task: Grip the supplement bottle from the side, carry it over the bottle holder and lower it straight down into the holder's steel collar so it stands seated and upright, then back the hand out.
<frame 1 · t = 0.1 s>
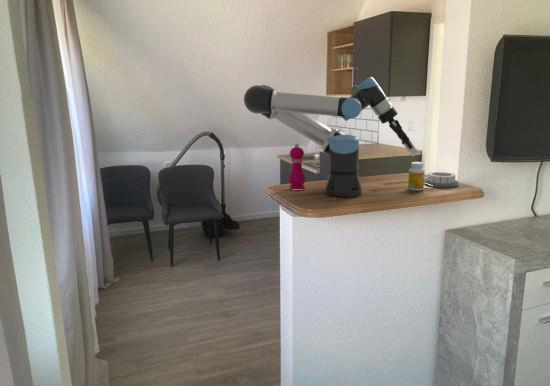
hand: (413, 152, 176), 15 cm above the countertop, tool tilted 35°, fingers open, 13 cm apart
supplement bottle: (415, 189, 177), on the countertop
bottle holder: (440, 184, 184), on the countertop
pepper mill: (297, 189, 181), on the countertop
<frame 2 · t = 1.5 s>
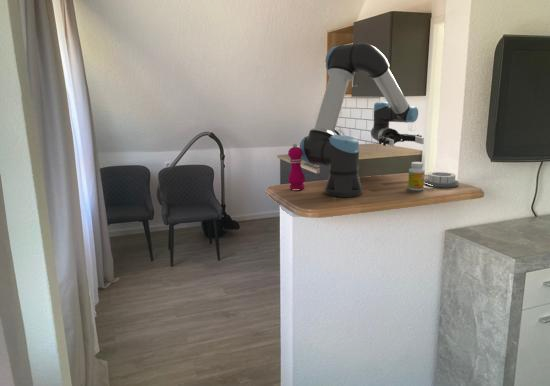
hand: (408, 142, 180), 19 cm above the countertop, tool horizontal, fingers open, 13 cm apart
pepper mill: (297, 189, 181), on the countertop, touching arm
everything else where it was.
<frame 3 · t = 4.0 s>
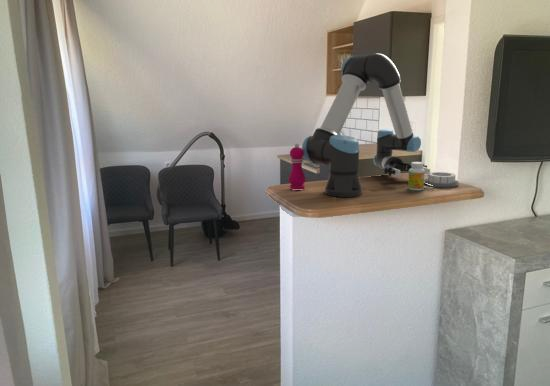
hand: (414, 172, 178), 6 cm above the countertop, tool horizontal, fingers open, 13 cm apart
pepper mill: (297, 189, 181), on the countertop
everything else where it was.
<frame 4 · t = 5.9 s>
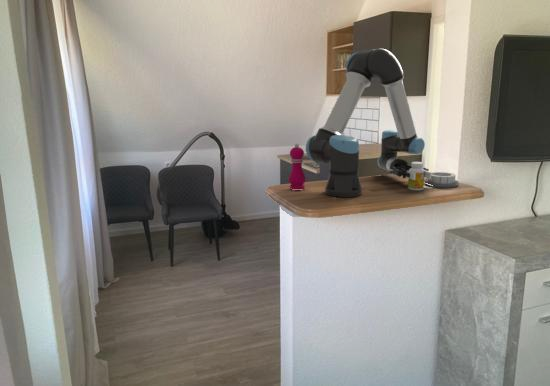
hand: (422, 176, 170), 7 cm above the countertop, tool horizontal, fingers closed on supplement bottle, 6 cm apart
supplement bottle: (415, 189, 177), on the countertop, touching gripper
everything else where it was.
when the fingers open (9 cm above the countertop, at t = 11.8 s): supplement bottle drops 1 cm, resting on bottle holder.
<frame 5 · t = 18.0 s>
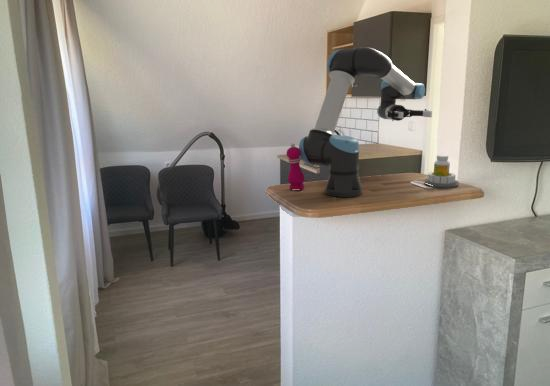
hand: (416, 114, 185), 30 cm above the countertop, tool horizontal, fingers open, 13 cm apart
supplement bottle: (440, 181, 184), point 1 cm above the countertop, touching bottle holder
pepper mill: (297, 189, 181), on the countertop, touching arm
at the end: supplement bottle 0.2 cm off-centre on the bottle holder, point 1.3 cm above the bottle holder's base; supplement bottle tilted 0°; the gripper is holding nothing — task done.
